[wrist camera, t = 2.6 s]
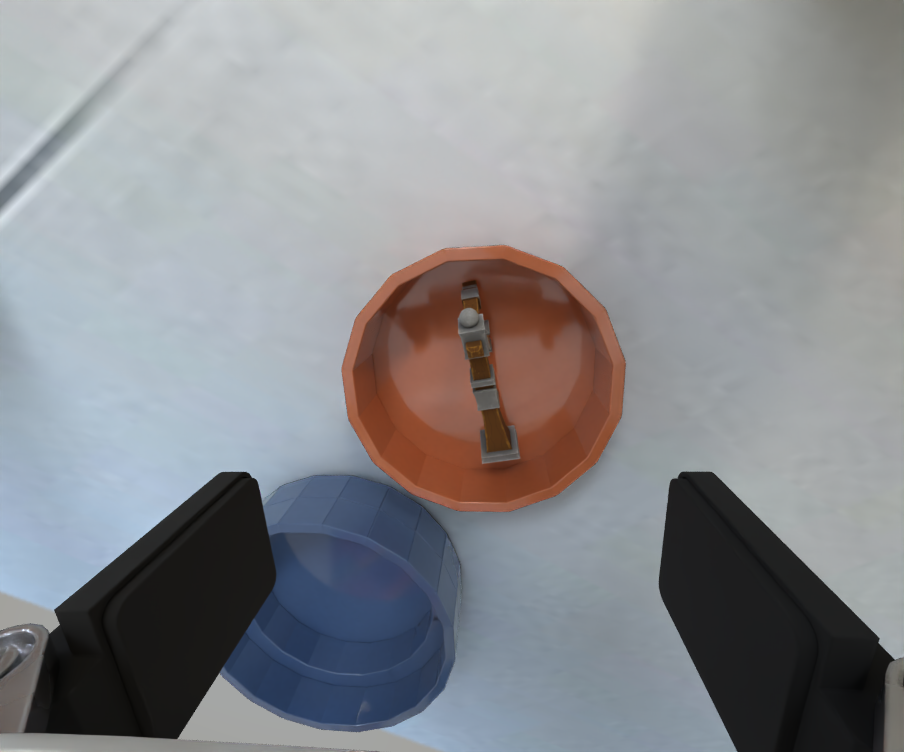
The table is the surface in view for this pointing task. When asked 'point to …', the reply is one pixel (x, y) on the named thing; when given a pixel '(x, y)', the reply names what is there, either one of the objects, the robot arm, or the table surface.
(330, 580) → the bowl
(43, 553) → the table surface
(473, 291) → the wooden post with brackets
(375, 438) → the shallow terracotta dish
